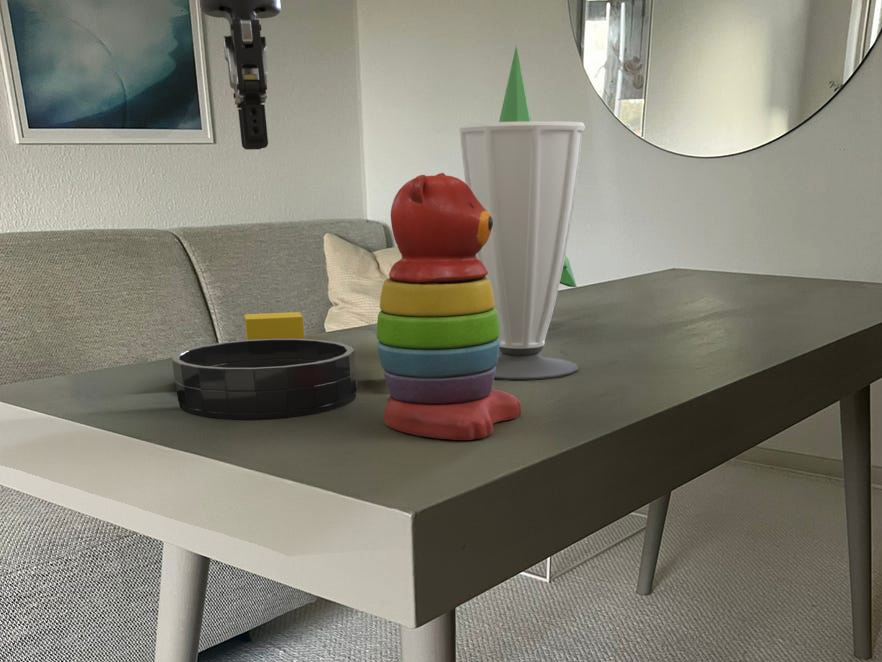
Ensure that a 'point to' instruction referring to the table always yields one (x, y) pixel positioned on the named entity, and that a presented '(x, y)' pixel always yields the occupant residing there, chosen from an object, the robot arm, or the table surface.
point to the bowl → (265, 378)
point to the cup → (524, 230)
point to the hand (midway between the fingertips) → (254, 148)
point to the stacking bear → (440, 316)
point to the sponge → (274, 326)
